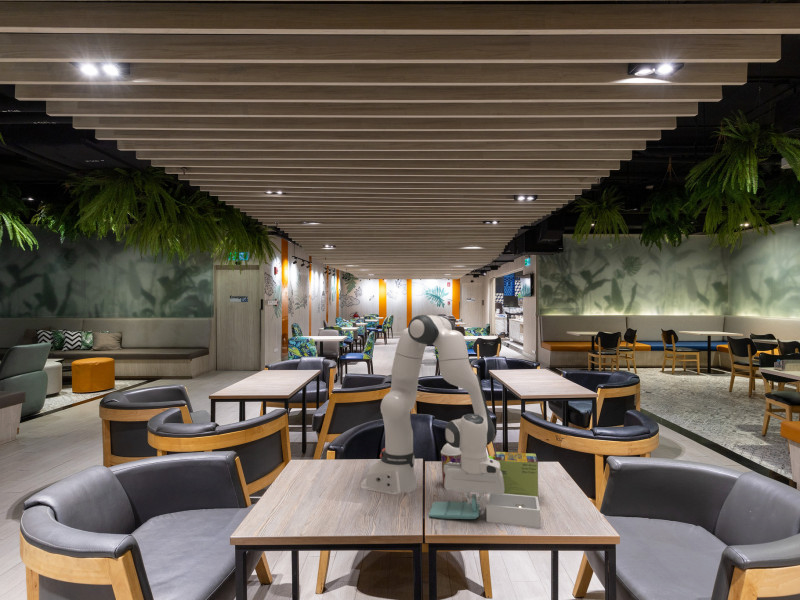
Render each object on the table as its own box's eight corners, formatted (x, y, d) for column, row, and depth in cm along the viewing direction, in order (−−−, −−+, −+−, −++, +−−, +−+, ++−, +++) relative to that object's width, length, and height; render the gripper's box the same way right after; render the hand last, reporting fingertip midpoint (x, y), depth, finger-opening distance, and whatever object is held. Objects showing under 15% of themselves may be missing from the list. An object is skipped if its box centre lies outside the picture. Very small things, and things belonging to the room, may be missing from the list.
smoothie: (448, 491, 177) (448, 440, 178) (437, 484, 185) (436, 434, 185) (466, 487, 181) (465, 437, 181) (454, 480, 189) (453, 432, 189)
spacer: (515, 517, 154) (515, 507, 154) (515, 513, 158) (515, 503, 158) (525, 518, 154) (525, 508, 154) (524, 514, 157) (524, 504, 157)
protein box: (538, 505, 165) (538, 462, 165) (495, 502, 168) (495, 459, 168) (536, 494, 175) (535, 453, 175) (495, 490, 178) (494, 451, 178)
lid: (429, 519, 153) (427, 502, 154) (434, 506, 163) (432, 490, 164) (478, 520, 150) (477, 503, 150) (480, 506, 160) (478, 490, 160)
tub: (486, 523, 151) (486, 505, 151) (487, 509, 162) (487, 492, 162) (540, 529, 147) (539, 510, 148) (537, 513, 158) (537, 496, 158)
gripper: (442, 464, 155) (442, 505, 154) (504, 469, 150) (504, 511, 150) (444, 458, 161) (444, 497, 161) (504, 462, 156) (504, 503, 156)
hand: (474, 504), depth 155 cm, fingers closed
